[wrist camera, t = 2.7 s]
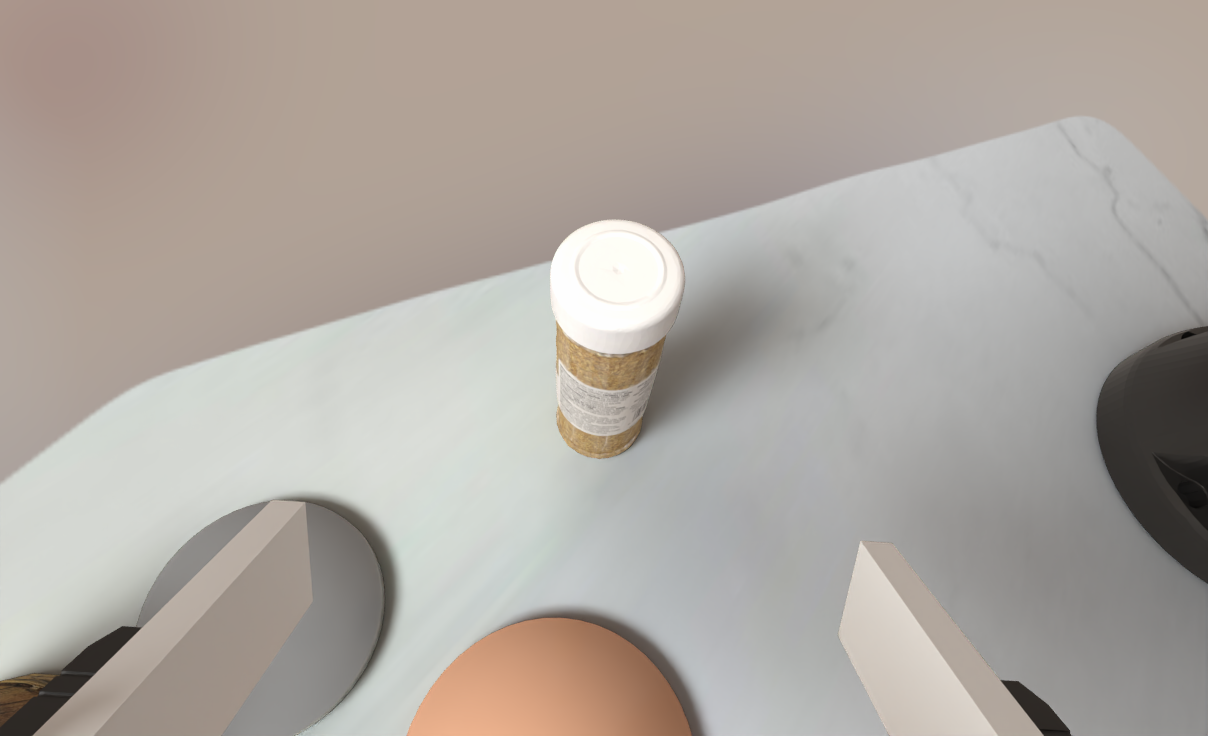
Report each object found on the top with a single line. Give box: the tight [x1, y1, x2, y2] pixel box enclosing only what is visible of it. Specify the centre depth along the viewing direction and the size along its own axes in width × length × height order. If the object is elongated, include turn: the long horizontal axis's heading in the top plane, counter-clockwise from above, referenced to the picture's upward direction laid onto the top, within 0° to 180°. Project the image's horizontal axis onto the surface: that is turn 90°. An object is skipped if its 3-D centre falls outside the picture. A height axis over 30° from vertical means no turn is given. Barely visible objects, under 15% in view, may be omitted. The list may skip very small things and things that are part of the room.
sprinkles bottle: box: [550, 219, 685, 459], centre depth 26 cm, size 5×5×13 cm
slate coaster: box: [136, 500, 385, 736], centre depth 26 cm, size 10×10×1 cm
